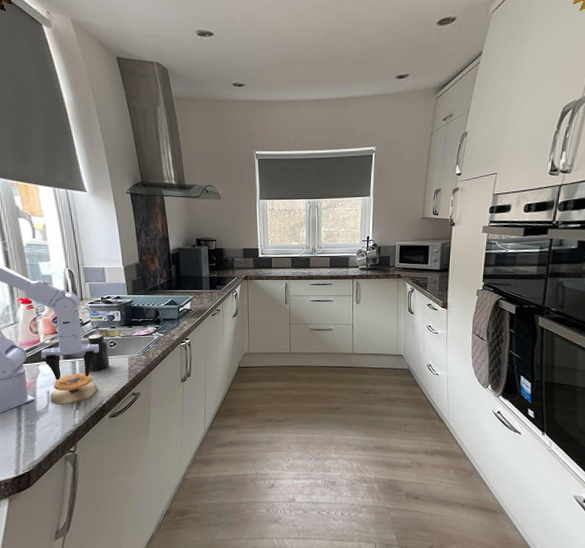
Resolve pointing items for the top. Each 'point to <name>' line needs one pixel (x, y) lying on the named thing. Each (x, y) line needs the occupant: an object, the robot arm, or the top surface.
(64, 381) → the rubber ring
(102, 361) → the supplement bottle
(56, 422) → the top surface
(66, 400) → the post stand
